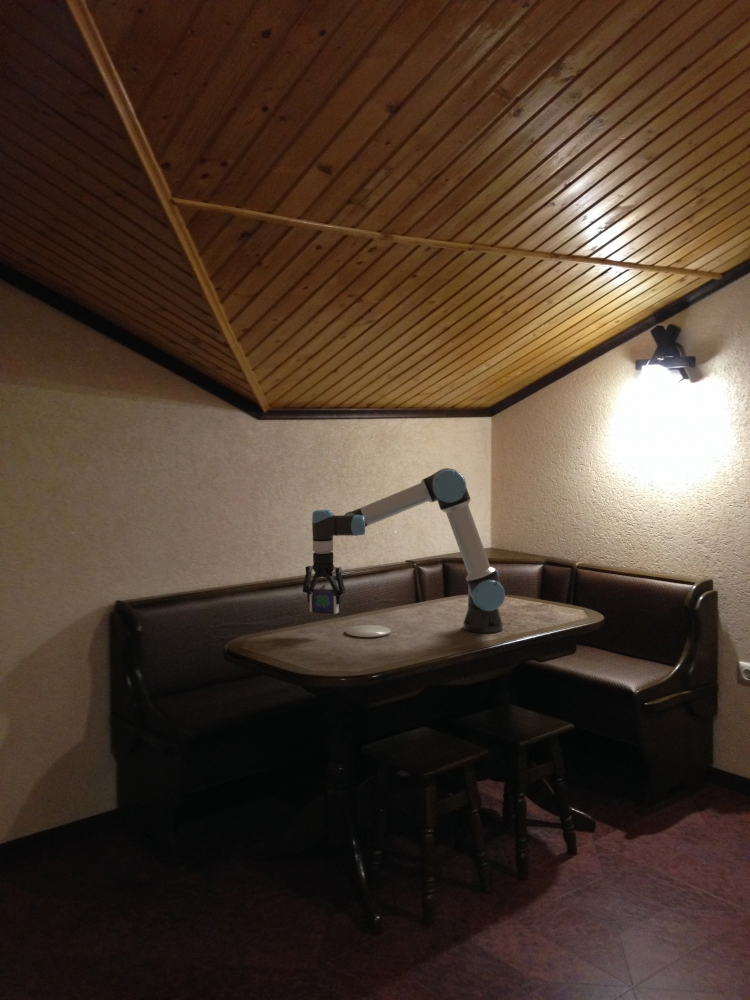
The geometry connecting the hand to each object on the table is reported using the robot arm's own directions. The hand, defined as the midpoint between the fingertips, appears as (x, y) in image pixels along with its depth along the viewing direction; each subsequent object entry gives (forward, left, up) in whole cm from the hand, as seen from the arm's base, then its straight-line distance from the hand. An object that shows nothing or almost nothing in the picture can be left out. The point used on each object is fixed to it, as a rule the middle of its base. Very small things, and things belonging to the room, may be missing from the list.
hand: (324, 612), depth 306 cm
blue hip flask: (0, 0, -1) cm, 1 cm away
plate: (-14, -10, -9) cm, 19 cm away
